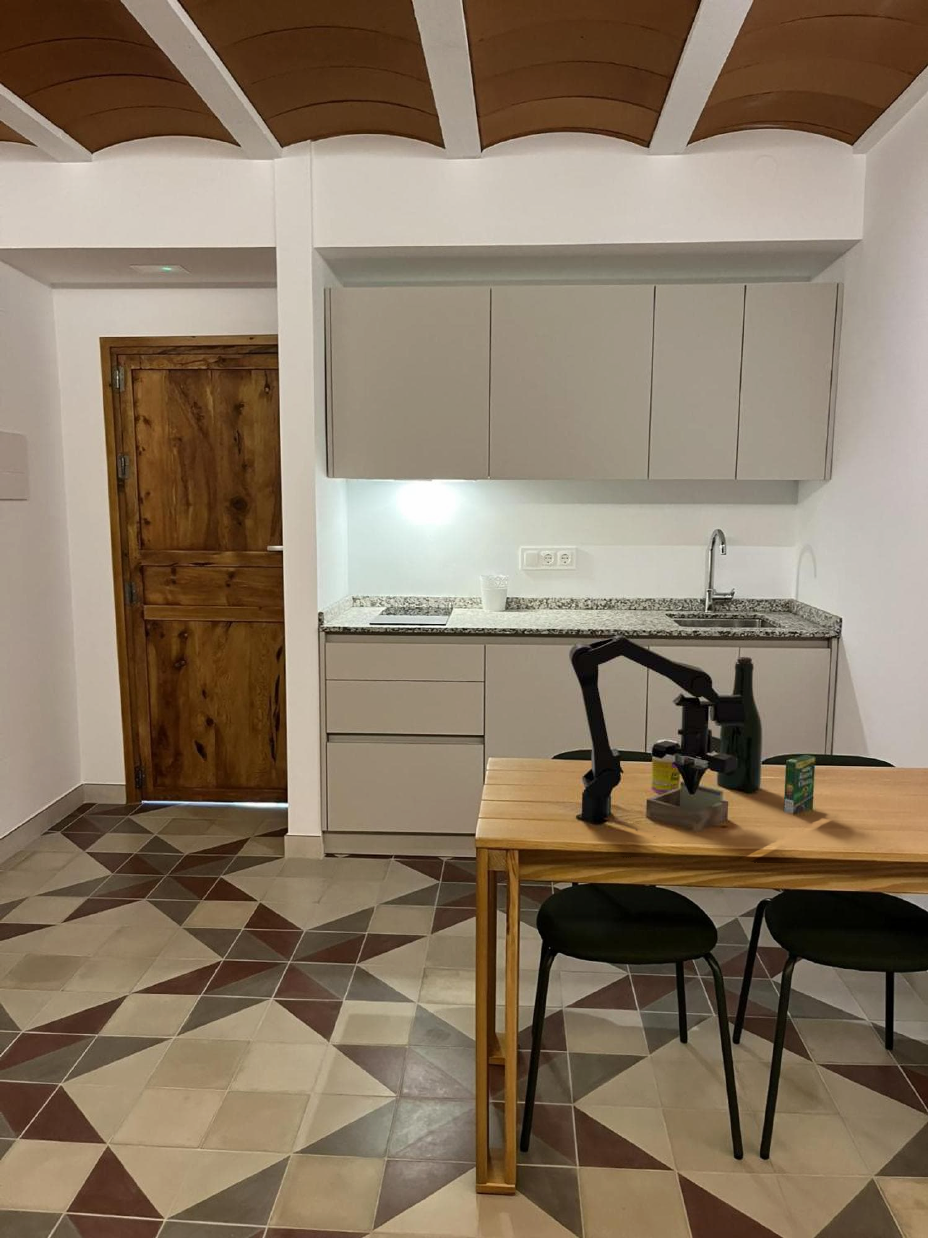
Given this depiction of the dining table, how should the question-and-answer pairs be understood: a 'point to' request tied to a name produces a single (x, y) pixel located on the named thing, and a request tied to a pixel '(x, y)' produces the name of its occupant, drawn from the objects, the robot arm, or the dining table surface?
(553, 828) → the dining table surface
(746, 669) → the green wine bottle
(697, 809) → the green grey flat panel
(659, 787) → the supplement bottle
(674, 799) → the brown hollow box
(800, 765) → the coffee box
